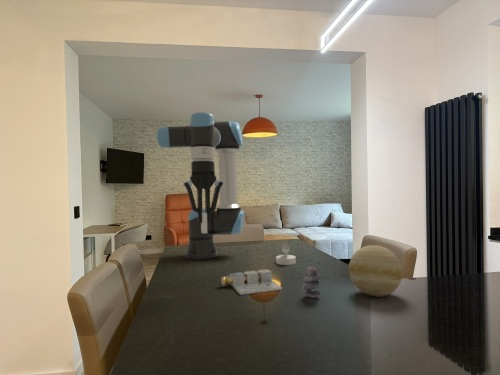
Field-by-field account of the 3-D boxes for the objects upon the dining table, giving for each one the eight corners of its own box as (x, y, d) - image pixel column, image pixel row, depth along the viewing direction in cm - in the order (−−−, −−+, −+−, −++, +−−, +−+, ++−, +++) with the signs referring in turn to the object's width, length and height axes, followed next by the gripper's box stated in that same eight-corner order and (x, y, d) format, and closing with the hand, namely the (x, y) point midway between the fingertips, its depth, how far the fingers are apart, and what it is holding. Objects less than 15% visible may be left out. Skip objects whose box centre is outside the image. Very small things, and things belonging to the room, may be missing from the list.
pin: (221, 284, 108) (221, 276, 108) (265, 279, 114) (264, 271, 114) (223, 286, 106) (223, 278, 106) (267, 281, 111) (267, 273, 111)
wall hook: (275, 243, 135) (275, 239, 145) (275, 265, 135) (276, 260, 145) (296, 243, 135) (295, 239, 144) (296, 265, 134) (295, 260, 144)
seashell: (321, 295, 97) (320, 262, 97) (319, 301, 92) (318, 266, 92) (303, 294, 99) (303, 261, 99) (300, 300, 94) (300, 265, 94)
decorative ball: (347, 300, 93) (346, 248, 93) (351, 285, 106) (350, 240, 106) (404, 306, 87) (403, 251, 87) (401, 290, 101) (400, 242, 101)
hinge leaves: (224, 278, 117) (224, 268, 117) (260, 274, 122) (259, 264, 122) (240, 295, 99) (239, 282, 99) (281, 289, 103) (281, 277, 103)
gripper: (184, 159, 100) (185, 235, 100) (225, 160, 104) (226, 232, 104) (181, 161, 107) (182, 232, 107) (219, 161, 111) (220, 229, 111)
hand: (204, 232), depth 105 cm, fingers closed
